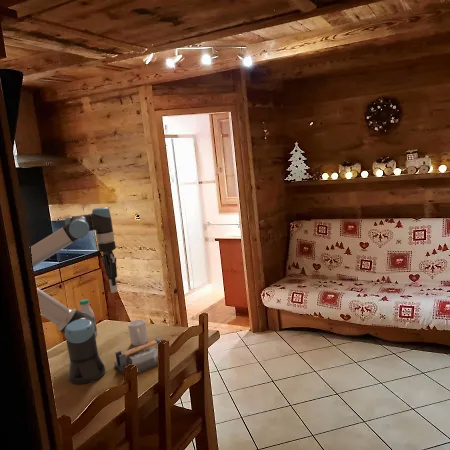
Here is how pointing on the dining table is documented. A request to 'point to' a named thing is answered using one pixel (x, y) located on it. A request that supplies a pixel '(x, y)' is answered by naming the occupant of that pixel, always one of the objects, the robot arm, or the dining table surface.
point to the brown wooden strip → (139, 348)
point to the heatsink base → (138, 358)
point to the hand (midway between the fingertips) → (114, 291)
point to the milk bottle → (87, 311)
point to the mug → (138, 332)
